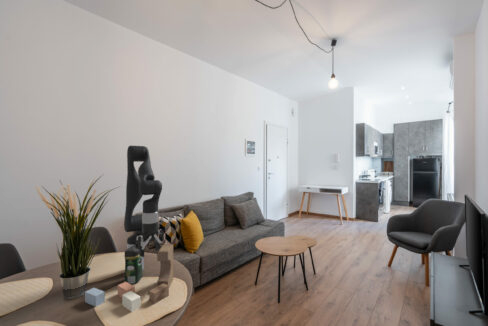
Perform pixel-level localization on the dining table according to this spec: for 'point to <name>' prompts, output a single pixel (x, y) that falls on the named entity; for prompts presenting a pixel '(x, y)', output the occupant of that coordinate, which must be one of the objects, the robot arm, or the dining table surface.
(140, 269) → the coffee jar
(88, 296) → the slate brick
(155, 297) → the walnut brick
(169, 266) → the decorative block
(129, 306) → the cream brick
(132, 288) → the terracotta brick
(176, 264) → the dining table surface
